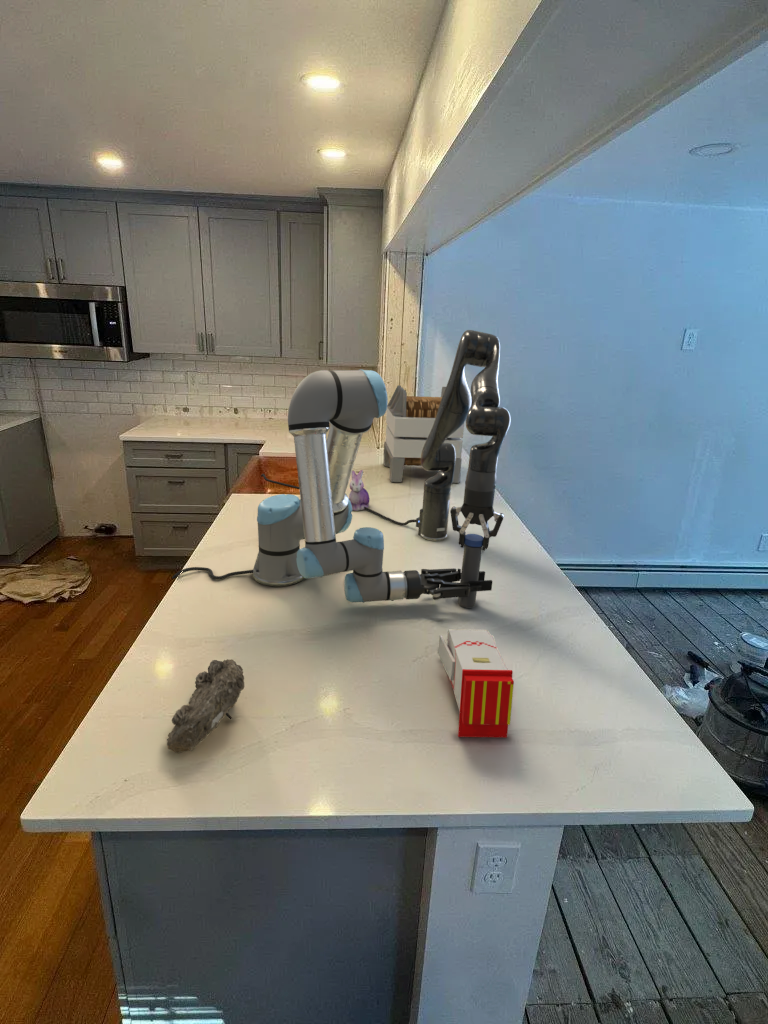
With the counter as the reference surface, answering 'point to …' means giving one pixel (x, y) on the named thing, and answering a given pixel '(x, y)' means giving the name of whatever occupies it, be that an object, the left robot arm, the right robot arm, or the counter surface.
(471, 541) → the lid
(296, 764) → the counter surface
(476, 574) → the grey cylinder
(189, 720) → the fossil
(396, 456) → the grey storage crate
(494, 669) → the toy
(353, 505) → the figurine
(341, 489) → the left robot arm
